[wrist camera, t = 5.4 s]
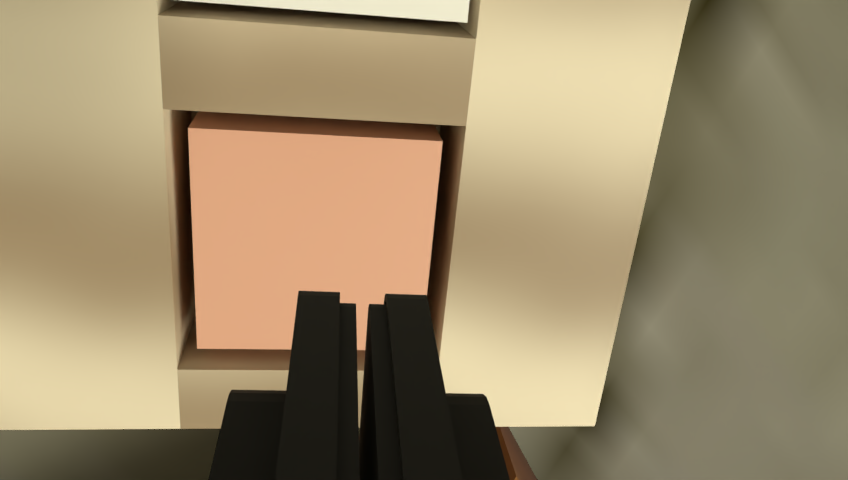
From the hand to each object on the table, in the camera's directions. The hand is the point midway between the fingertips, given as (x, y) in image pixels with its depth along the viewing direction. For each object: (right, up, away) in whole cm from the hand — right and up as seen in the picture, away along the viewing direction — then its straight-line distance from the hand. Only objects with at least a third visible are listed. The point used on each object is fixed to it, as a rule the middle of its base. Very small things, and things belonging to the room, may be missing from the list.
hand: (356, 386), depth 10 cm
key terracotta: (-2, +3, +8) cm, 9 cm away
